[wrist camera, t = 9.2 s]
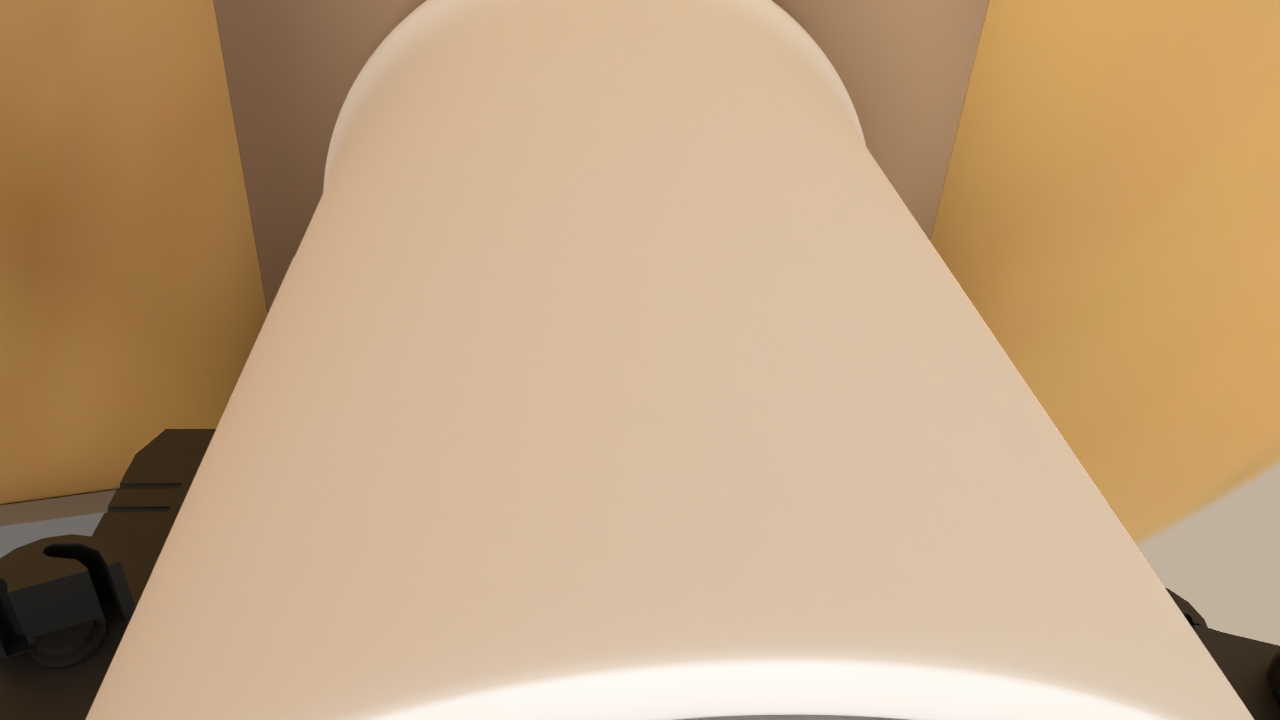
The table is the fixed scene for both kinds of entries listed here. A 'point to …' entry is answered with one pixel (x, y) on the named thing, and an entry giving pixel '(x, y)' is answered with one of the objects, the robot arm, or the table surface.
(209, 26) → the table surface
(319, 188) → the walnut coaster
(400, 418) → the mug
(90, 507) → the slate coaster
